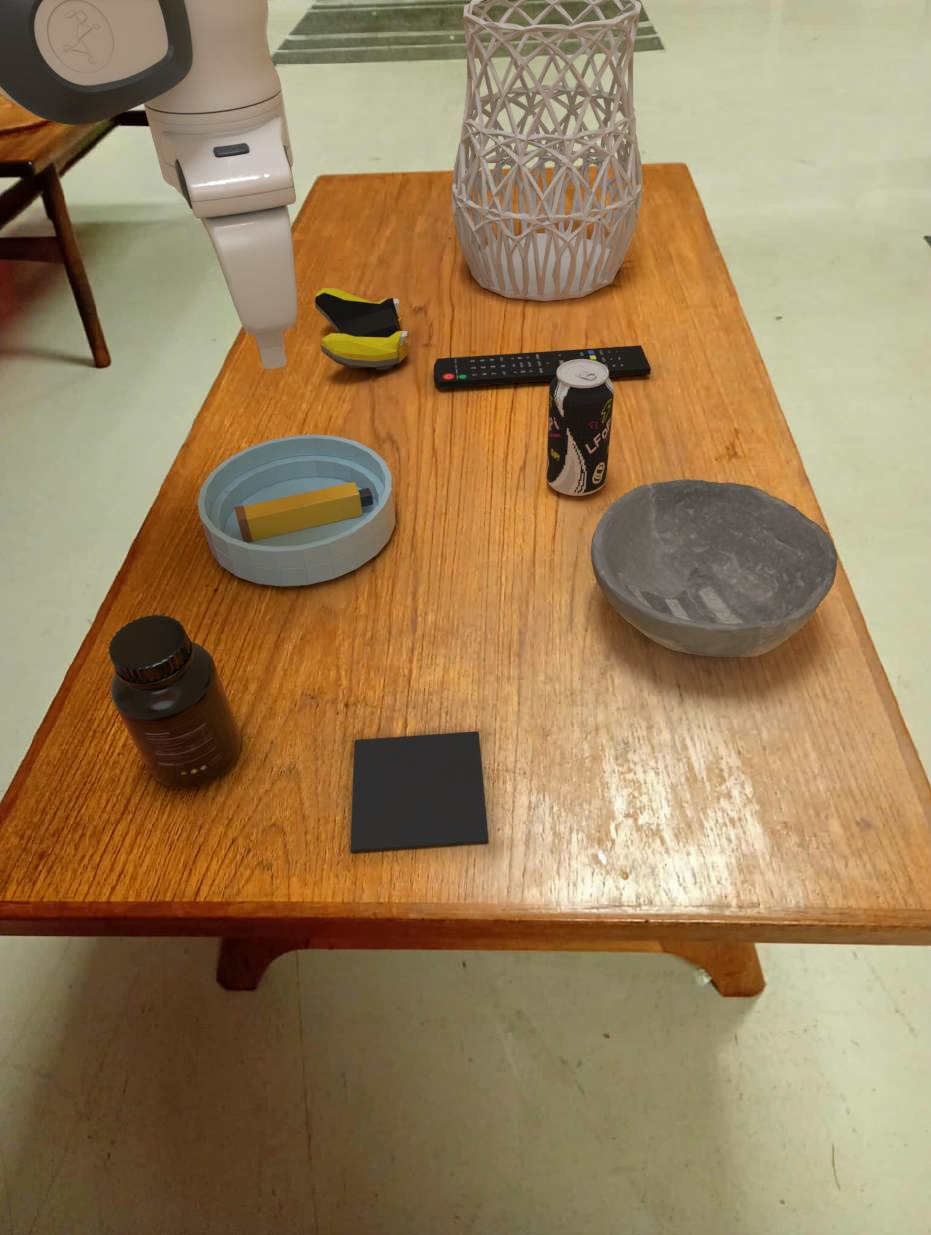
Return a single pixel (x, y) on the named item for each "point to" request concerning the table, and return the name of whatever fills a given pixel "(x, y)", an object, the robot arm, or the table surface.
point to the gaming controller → (362, 330)
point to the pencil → (302, 511)
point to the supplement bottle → (172, 703)
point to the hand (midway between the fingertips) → (264, 336)
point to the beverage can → (579, 427)
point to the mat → (417, 792)
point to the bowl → (712, 566)
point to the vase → (547, 159)
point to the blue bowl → (285, 474)
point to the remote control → (533, 366)
